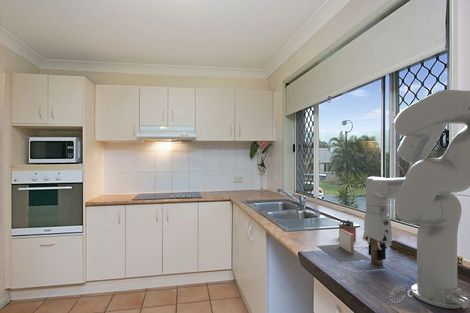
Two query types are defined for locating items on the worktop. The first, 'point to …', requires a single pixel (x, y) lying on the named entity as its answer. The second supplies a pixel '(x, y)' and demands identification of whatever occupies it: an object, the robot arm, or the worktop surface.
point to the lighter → (348, 227)
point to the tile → (346, 241)
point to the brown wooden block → (375, 253)
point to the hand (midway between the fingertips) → (376, 256)
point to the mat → (342, 253)
